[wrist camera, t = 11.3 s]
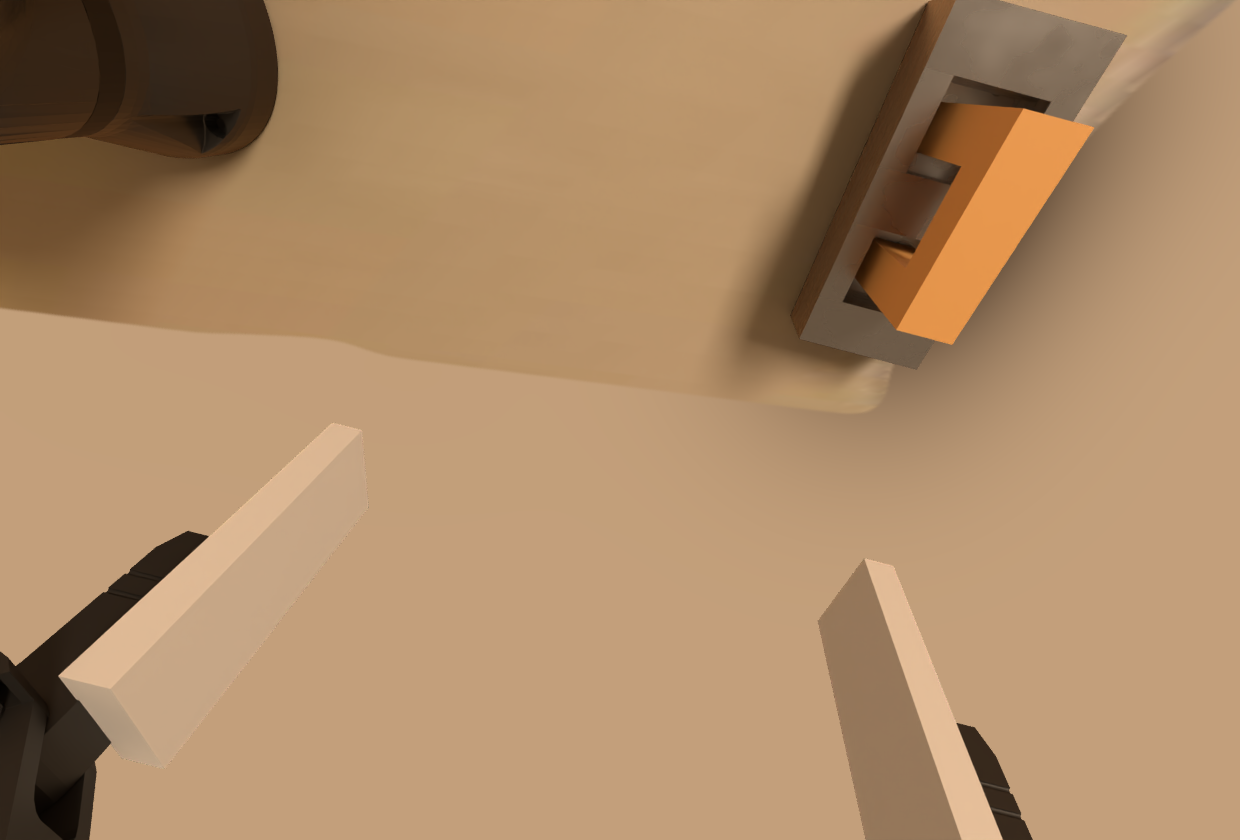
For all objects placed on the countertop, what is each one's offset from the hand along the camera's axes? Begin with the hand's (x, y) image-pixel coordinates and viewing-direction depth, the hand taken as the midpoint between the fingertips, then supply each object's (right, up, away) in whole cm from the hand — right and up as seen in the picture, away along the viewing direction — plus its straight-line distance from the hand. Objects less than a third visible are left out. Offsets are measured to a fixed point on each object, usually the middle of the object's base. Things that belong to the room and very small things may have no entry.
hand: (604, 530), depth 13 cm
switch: (+18, +17, +18) cm, 31 cm away
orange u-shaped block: (+18, +16, +18) cm, 30 cm away
